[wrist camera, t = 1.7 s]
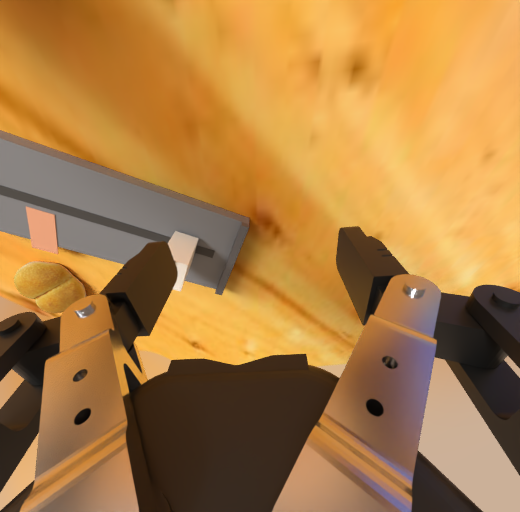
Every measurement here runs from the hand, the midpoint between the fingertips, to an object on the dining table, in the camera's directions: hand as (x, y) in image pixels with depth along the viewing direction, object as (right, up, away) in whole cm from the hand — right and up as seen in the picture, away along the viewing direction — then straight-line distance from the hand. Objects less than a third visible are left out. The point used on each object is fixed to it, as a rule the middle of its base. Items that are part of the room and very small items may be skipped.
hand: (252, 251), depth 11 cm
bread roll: (-32, -4, +26) cm, 41 cm away
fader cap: (-10, +1, +20) cm, 22 cm away
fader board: (-18, +5, +20) cm, 27 cm away
